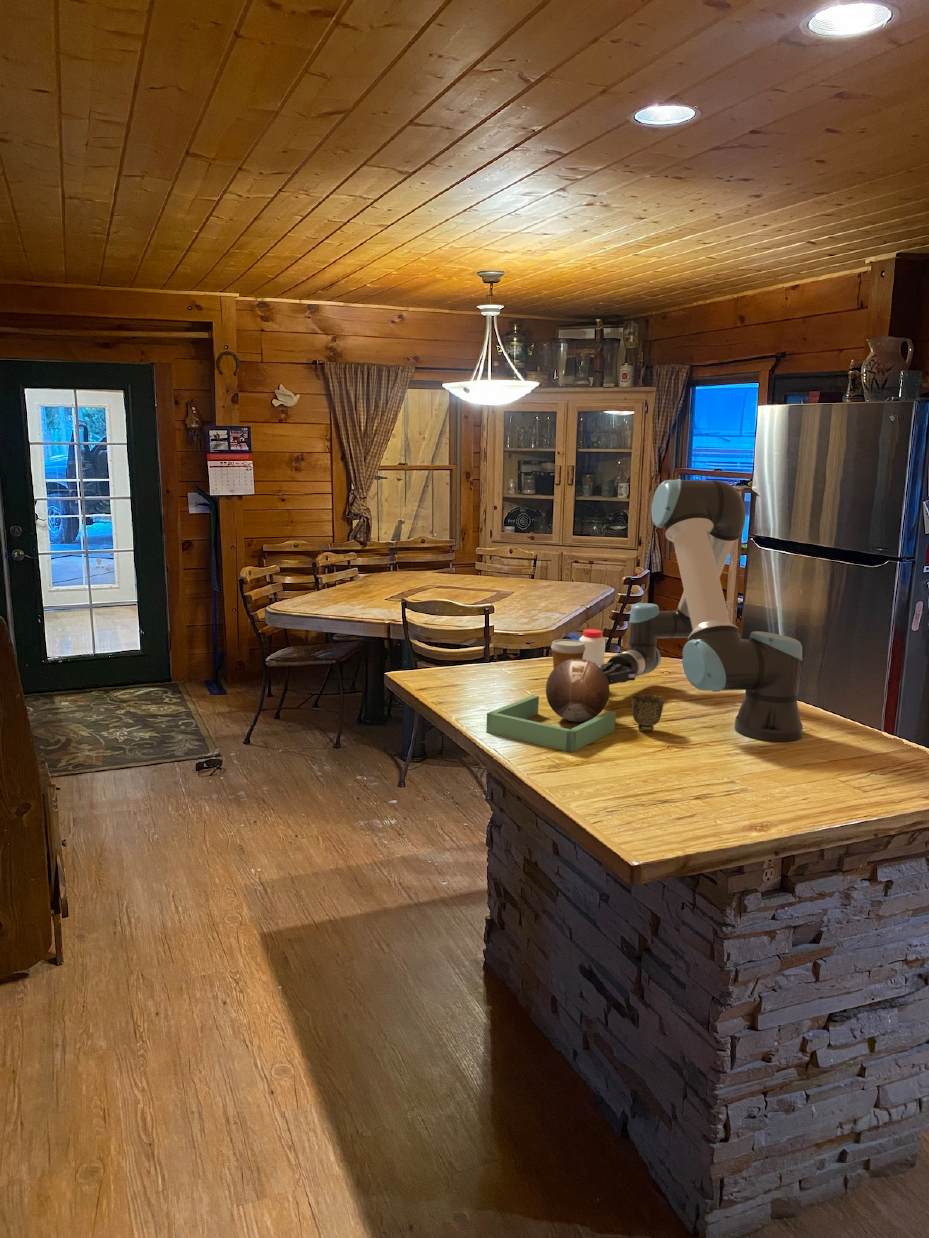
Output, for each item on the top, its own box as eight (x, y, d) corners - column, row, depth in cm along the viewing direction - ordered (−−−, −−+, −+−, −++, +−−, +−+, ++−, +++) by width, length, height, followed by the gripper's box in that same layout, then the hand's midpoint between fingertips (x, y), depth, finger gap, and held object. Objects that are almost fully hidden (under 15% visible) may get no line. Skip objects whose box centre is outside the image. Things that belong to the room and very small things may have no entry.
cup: (661, 736, 209) (664, 702, 207) (629, 733, 210) (631, 700, 209) (661, 727, 216) (664, 694, 214) (629, 724, 217) (632, 691, 216)
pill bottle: (607, 666, 276) (609, 630, 275) (597, 671, 270) (599, 634, 268) (584, 662, 280) (586, 627, 279) (573, 667, 274) (575, 631, 272)
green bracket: (532, 712, 225) (533, 695, 224) (614, 730, 212) (615, 711, 211) (486, 732, 208) (486, 713, 207) (572, 752, 196) (573, 732, 195)
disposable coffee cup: (543, 681, 256) (545, 639, 253) (575, 680, 258) (577, 638, 256) (557, 690, 247) (559, 646, 245) (589, 688, 250) (591, 645, 247)
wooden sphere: (550, 729, 211) (553, 666, 208) (539, 711, 226) (542, 652, 223) (614, 730, 213) (618, 667, 210) (599, 711, 227) (602, 652, 225)
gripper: (647, 684, 241) (606, 702, 222) (602, 676, 249) (559, 693, 230) (649, 656, 240) (607, 672, 221) (604, 649, 247) (560, 663, 228)
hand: (583, 682), depth 225 cm, fingers closed
